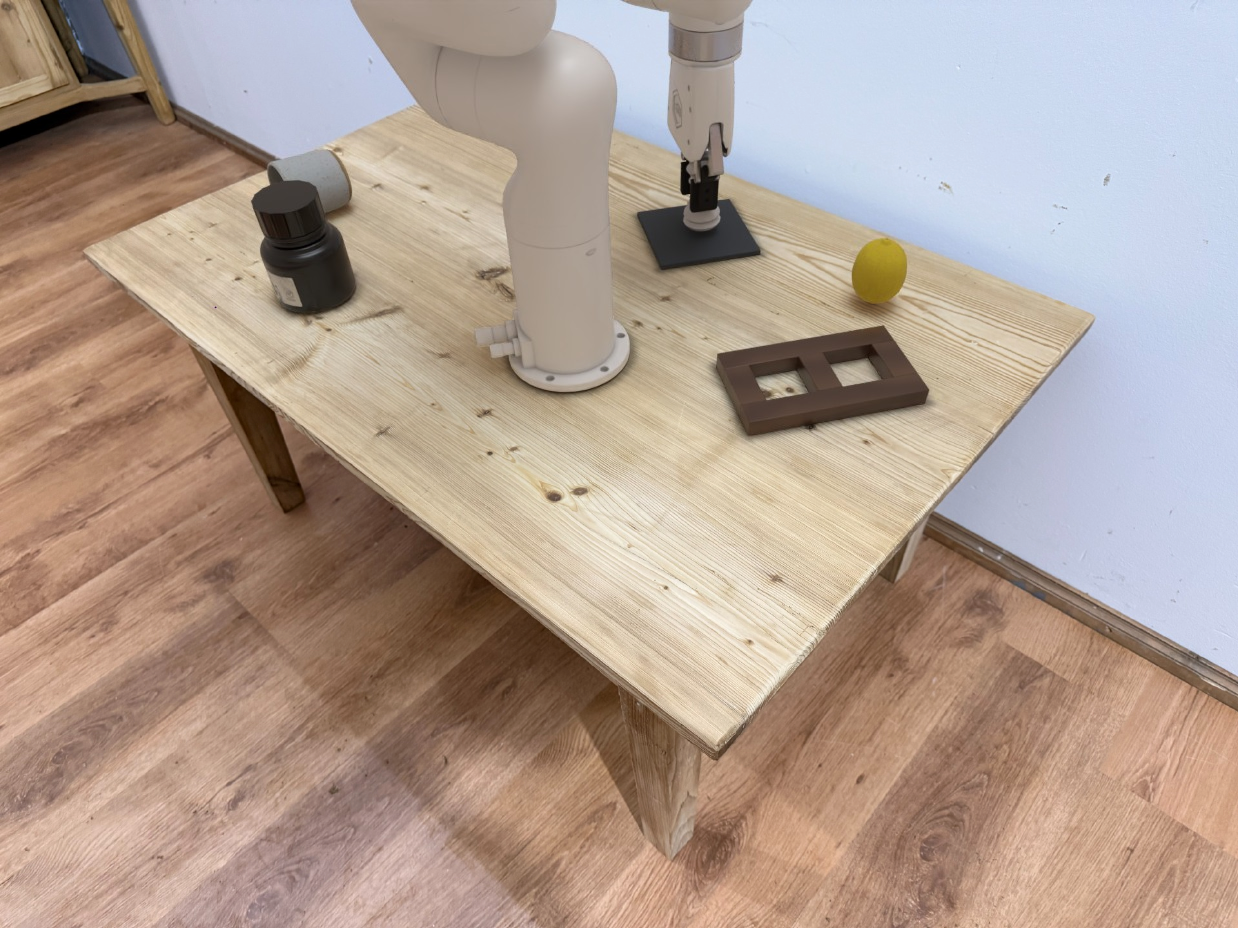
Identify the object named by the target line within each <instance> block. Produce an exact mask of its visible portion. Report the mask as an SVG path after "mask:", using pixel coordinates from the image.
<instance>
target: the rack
mask: <svg viewBox="0 0 1238 928" xmlns="http://www.w3.org/2000/svg"><path fill="white" fill-rule="evenodd" d="M865 358H866V359H867V358H868V359H869V360H870V362H871V364H872V365H873V367H874V369H875V370H876V371H877V373H878V375H879V376H880V377H881V379H878V380H877V379H876V380H872V381H866V382H861V383H853V384H850V385H849V384H848V385H844V386H843V384H842V382H841V381H840V379H839V377H838V376H837V374H836V372H835V371H834V369H833V367H832V366H831V365H832V364H837V363H843V362H849V361H854V360H861V359H865ZM715 367H716V370H717V372H718V374H719V376H720V379H721V380H722V382H723V383H722V384H723V385H724V388H725V389H726V391H727V394H728V396H729V398H730V401H731V402H732V405H733V407H734V409H735V411H736V414H737V415H738V417H739V420H740V421H741V424H742V426H743V428H744V430H745V432H746V435H747V436H754V435H759V434H760V435H761V434H765V433H771V432H776V431H782V430H787V429H792V428H799V427H803V426H810V425H815V424H821V423H826V422H831V421H836V420H842V419H847V418H848V419H849V418H853V417H859V416H863V415H868V414H874V413H879V412H886V411H890V410H896V409H902V408H907V407H911V406H913V407H914V406H917V405H922V404H923V405H924V404H926V402H927V399H928V396H929V393H930V388H929V386H928V385H927V384H926V383H925V381H924V380H923V379H922V377H921V375H920V374H919V373H918V371H917V370H916V369H915V367H914V366H913V364H912V363H911V361H910V360H909V358H908V357H907V356H906V355H905V353H904V352H903V350H902V349H901V347H900V346H899V344H898V343H897V341H896V340H895V339H894V337H893V336H892V335H891V334H890V332H889V330H888V329H887V327H886V326H885V325H883V324H882V325H877V326H871V327H865V328H859V329H854V330H853V329H852V330H848V331H847V330H846V331H842V332H841V331H840V332H836V333H829V334H823V335H817V336H813V337H805V338H800V339H794V340H788V341H781V342H778V343H771V344H766V345H758V346H754V347H753V346H752V347H748V348H747V347H746V348H742V349H735V350H730V351H723V352H718V353H716V365H715ZM792 371H797V373H798V375H799V377H800V379H801V380H802V382H803V384H804V386H805V388H806V389H807V391H808V392H804V393H799V394H793V395H787V396H783V397H776V398H770V399H767V398H766V397H765V395H764V392H763V390H762V389H761V387H760V385H759V382H758V381H757V379H756V378H757V377H762V376H768V375H774V374H779V373H785V372H792Z"/></svg>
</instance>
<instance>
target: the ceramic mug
mask: <svg viewBox="0 0 1238 928" xmlns="http://www.w3.org/2000/svg"><path fill="white" fill-rule="evenodd" d="M266 175H267V179H268V183H269V185H271V184H273V183H278V182H282V181H286V180H288V181H289V180H300V181H305V182H310V183H311V184H313V185H314V186H316V188H317V191H318V193H319V196H320V199H321V203H322V206H323V209H324V212H325V214H328V213H330V212H332V211H335V210H337V209H340V208H342V207H344V206H345V205H347V204H349V203H350V201H351V200H352V196H353V187H352V181H351V179H350V176H349V173H348V170H347V168H346V166H345V164H344V162H343V161H342V159H341V158H340V157H339V156H338V155H337V154H336V153H335V152H334V151H332V150H331V149H329V148H327V149H326V148H325V149H315V150H312V151H307V152H304V153H301V154H297V155H293V156H288V157H284V158H280V159H277V160H273V161H270V162H269V163H267V166H266Z"/></svg>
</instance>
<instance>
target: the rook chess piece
mask: <svg viewBox="0 0 1238 928" xmlns="http://www.w3.org/2000/svg"><path fill="white" fill-rule="evenodd" d="M708 164H709V160H705V161H701V168H702V167H703V166H704V165H708ZM686 170H687V172H688V173H689V174H690V176H691V177H690V179H694V162H690V161H689V165H688V166H687V168H686ZM690 179H689V183H690ZM686 205H687V206H686V207H685V210H684V219H683V221H684V223H685V225H686V226H687V227H688V228H690V229H691V230H694V231H707V230H710V229H713V228H714V227H715V226H716V225H717V224H718V223H719V222H720V218H721V217H720V215H719V213H720V209H719V207H718V205H717V208H716V209H715V210H710V211H703V212H696V213H692V212H691V211H690V198H689V199H688V201H687V203H686Z"/></svg>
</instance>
